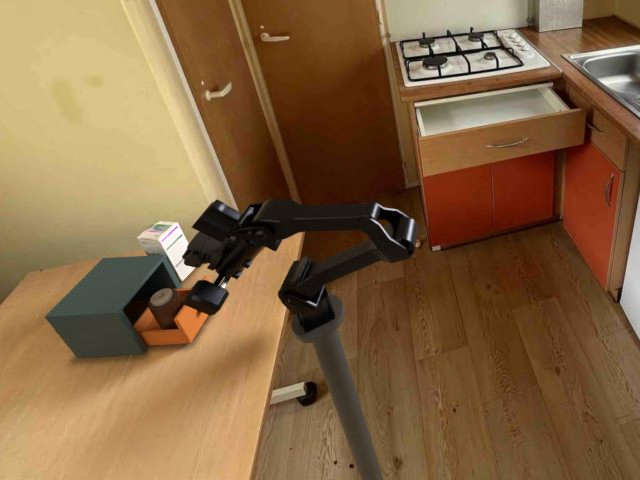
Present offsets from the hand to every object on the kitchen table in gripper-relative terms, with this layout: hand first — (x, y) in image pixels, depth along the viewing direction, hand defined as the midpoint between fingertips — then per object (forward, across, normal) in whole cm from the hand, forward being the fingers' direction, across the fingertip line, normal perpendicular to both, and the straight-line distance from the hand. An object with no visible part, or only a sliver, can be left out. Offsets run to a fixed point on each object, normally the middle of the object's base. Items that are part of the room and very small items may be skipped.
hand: (206, 287), depth 88 cm
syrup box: (+20, -14, -5) cm, 25 cm away
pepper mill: (+12, +2, +1) cm, 12 cm away
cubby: (+20, 0, -6) cm, 21 cm away
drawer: (+13, 0, +1) cm, 13 cm away
